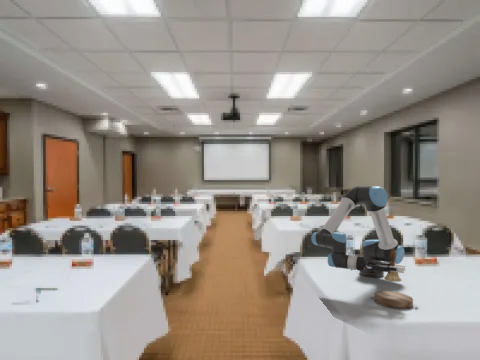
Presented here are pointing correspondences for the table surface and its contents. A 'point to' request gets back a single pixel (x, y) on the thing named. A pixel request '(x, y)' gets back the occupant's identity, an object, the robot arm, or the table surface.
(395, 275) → the hand bell
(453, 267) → the table surface
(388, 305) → the walnut stand
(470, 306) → the table surface
